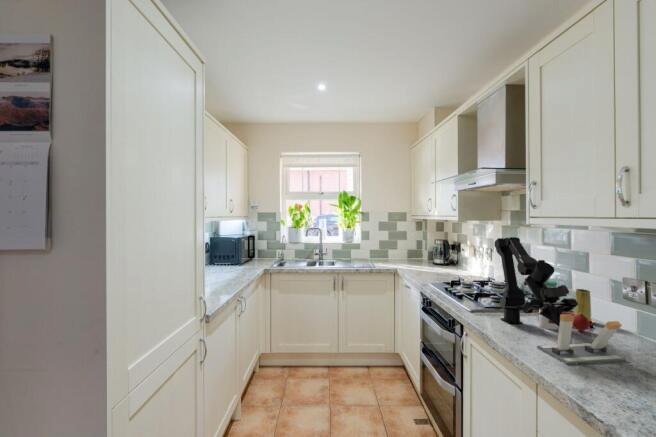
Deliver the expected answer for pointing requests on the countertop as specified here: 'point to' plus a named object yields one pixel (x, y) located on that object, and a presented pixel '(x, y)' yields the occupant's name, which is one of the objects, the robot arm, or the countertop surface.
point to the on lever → (605, 335)
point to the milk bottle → (543, 320)
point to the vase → (583, 303)
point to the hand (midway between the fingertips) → (563, 327)
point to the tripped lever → (565, 332)
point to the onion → (580, 322)
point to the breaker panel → (581, 354)
